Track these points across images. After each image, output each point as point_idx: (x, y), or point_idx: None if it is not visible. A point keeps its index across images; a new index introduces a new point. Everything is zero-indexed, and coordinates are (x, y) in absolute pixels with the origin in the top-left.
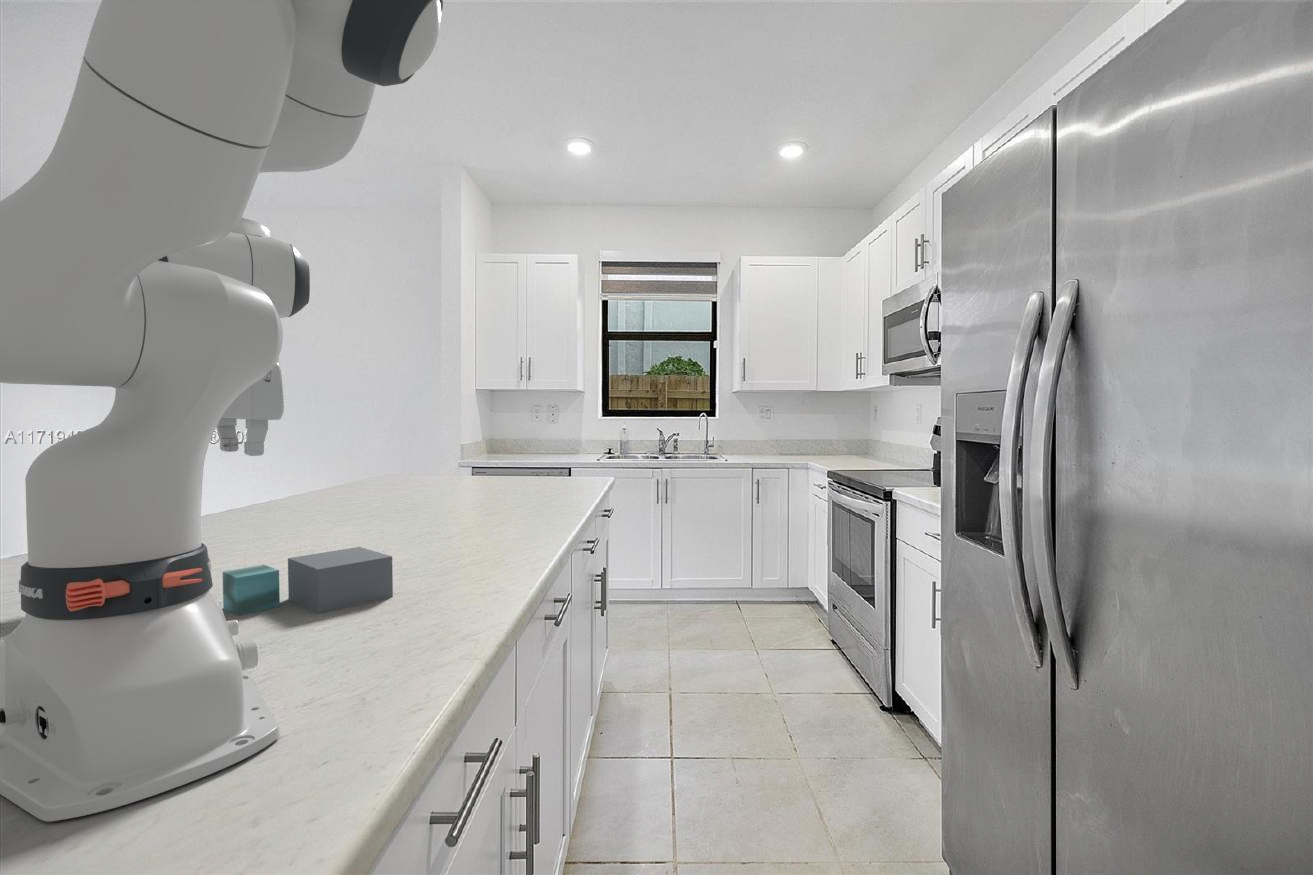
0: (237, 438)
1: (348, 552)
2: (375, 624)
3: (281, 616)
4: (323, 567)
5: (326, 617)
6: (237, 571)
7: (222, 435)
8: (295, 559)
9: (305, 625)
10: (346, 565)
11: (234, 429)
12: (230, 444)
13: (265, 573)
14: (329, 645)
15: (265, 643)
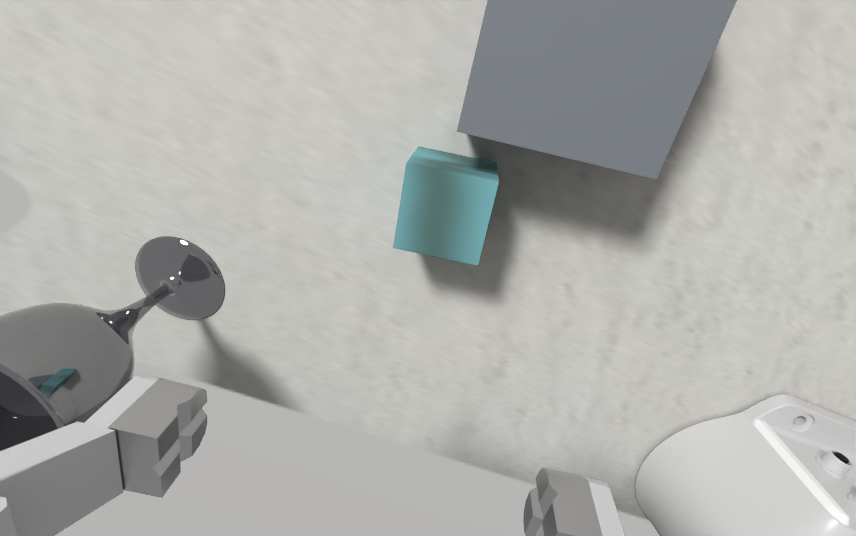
0: (141, 435)
1: None
2: (807, 150)
3: (563, 202)
4: (653, 158)
5: None
6: (419, 232)
7: (100, 500)
8: (492, 132)
9: (659, 216)
10: (690, 102)
11: (26, 473)
12: (178, 440)
13: (491, 210)
14: (793, 265)
15: (669, 300)
